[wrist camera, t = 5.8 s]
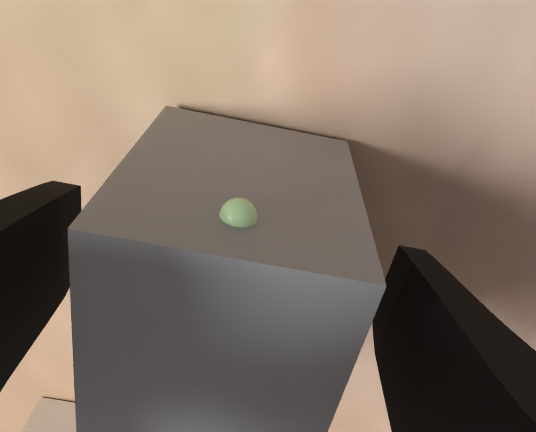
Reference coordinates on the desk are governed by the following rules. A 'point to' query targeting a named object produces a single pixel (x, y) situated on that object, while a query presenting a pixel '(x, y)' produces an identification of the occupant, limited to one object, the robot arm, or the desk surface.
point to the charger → (221, 281)
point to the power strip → (52, 417)
